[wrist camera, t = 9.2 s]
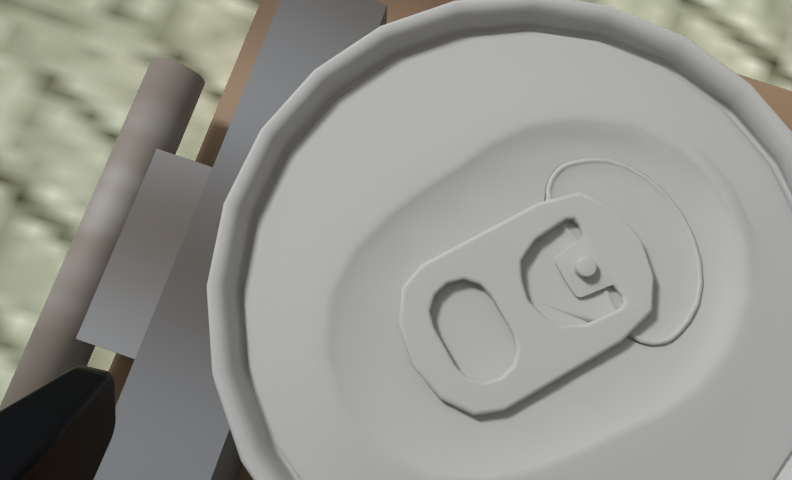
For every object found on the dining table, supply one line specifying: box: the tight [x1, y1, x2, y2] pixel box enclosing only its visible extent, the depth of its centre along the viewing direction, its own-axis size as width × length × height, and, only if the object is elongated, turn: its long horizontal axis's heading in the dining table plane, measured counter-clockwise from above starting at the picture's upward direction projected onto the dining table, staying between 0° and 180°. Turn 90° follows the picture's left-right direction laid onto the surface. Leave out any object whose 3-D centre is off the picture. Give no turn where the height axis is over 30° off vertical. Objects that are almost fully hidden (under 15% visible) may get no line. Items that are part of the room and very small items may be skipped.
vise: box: [0, 0, 792, 480], centre depth 16 cm, size 18×15×4 cm
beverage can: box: [207, 0, 792, 480], centre depth 11 cm, size 5×5×12 cm
